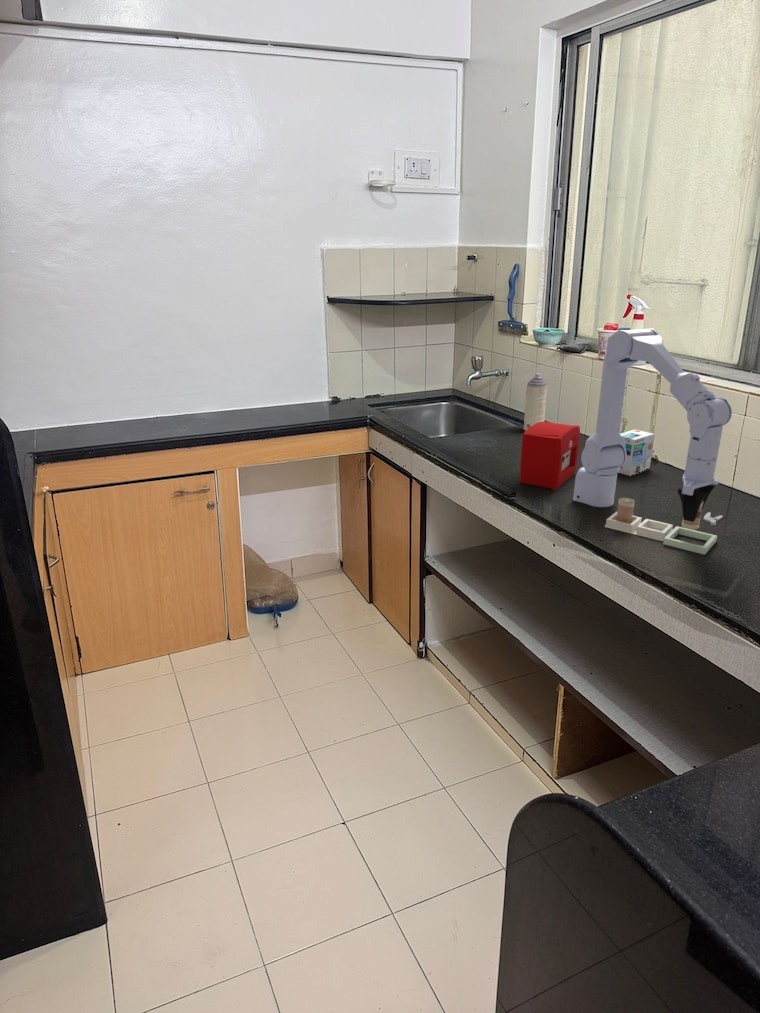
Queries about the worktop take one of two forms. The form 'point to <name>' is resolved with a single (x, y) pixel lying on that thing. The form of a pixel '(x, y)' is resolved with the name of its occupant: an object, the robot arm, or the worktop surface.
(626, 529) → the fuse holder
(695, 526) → the cylinder
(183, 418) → the worktop surface
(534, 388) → the aerosol can
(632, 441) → the light bulb box
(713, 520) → the pliers
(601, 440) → the robot arm
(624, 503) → the fuse
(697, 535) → the tray
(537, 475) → the fire alarm
